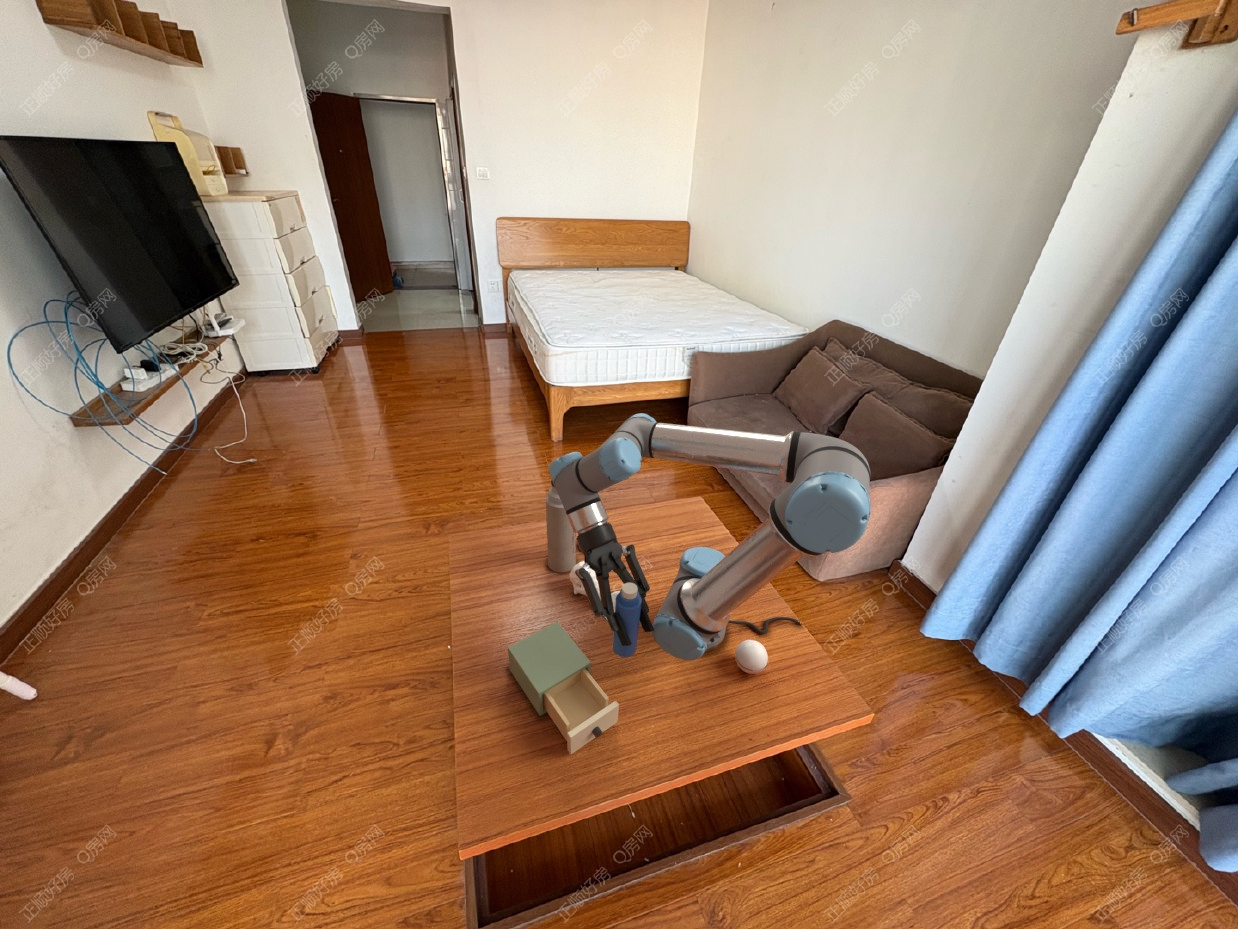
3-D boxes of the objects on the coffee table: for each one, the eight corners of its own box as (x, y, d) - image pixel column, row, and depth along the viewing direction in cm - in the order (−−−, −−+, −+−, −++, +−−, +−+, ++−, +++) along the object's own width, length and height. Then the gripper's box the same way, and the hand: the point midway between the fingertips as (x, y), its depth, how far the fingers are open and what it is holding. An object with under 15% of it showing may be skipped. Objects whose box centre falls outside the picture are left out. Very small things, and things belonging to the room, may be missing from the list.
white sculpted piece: (586, 554, 134) (616, 582, 127) (584, 576, 139) (613, 604, 132) (567, 564, 130) (597, 594, 123) (566, 586, 135) (594, 616, 128)
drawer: (621, 726, 102) (622, 709, 99) (574, 760, 96) (574, 743, 93) (583, 677, 111) (583, 660, 108) (538, 705, 105) (537, 688, 102)
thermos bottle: (579, 556, 146) (580, 474, 131) (571, 574, 139) (571, 491, 125) (552, 551, 147) (550, 470, 133) (543, 569, 140) (540, 486, 126)
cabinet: (590, 685, 111) (591, 662, 107) (540, 716, 104) (538, 693, 100) (557, 643, 120) (557, 621, 116) (509, 669, 113) (507, 647, 109)
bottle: (639, 641, 106) (645, 582, 97) (632, 660, 102) (638, 600, 93) (616, 634, 107) (621, 576, 98) (609, 653, 103) (613, 593, 94)
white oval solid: (725, 661, 118) (730, 640, 114) (749, 649, 121) (755, 628, 117) (754, 696, 110) (761, 674, 107) (779, 682, 114) (786, 661, 110)
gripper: (619, 516, 109) (662, 618, 107) (546, 547, 99) (592, 660, 97) (636, 509, 103) (682, 616, 100) (560, 541, 93) (610, 661, 91)
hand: (638, 637), depth 99 cm, fingers closed on bottle, 5 cm apart
